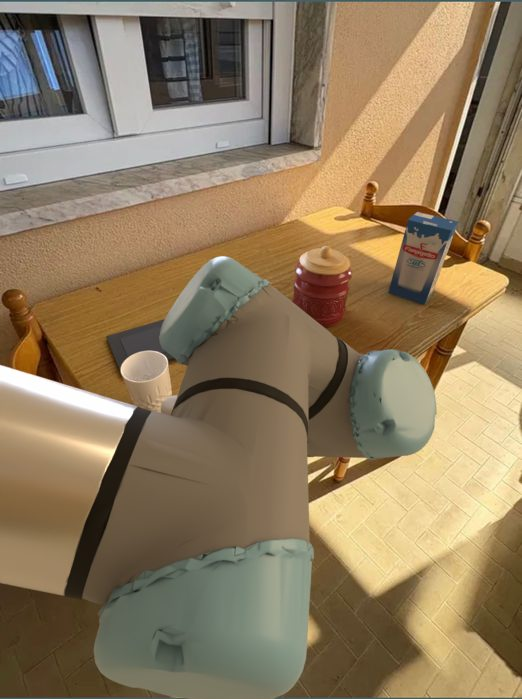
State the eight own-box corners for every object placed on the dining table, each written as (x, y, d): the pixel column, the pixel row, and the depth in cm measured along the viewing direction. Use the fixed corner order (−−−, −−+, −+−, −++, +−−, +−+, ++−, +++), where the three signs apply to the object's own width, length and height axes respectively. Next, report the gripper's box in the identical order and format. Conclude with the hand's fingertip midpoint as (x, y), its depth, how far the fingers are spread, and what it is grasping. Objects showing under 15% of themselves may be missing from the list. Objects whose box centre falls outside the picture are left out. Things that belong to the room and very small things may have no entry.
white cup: (144, 428, 67) (133, 389, 60) (125, 401, 72) (112, 363, 65) (183, 406, 71) (176, 368, 64) (163, 383, 75) (154, 344, 69)
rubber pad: (122, 377, 76) (121, 374, 76) (106, 338, 86) (105, 335, 85) (188, 355, 82) (187, 352, 81) (166, 321, 91) (166, 318, 90)
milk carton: (387, 292, 102) (407, 219, 89) (396, 282, 106) (416, 211, 93) (425, 305, 97) (451, 230, 84) (432, 294, 101) (459, 221, 88)
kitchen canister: (280, 310, 95) (284, 244, 83) (316, 292, 101) (325, 229, 90) (318, 336, 87) (328, 267, 76) (355, 315, 94) (369, 248, 82)
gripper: (208, 546, 31) (136, 513, 48) (360, 381, 46) (263, 402, 63) (157, 472, 30) (102, 466, 47) (328, 328, 45) (238, 364, 62)
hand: (193, 429), depth 55 cm, fingers open, 13 cm apart
